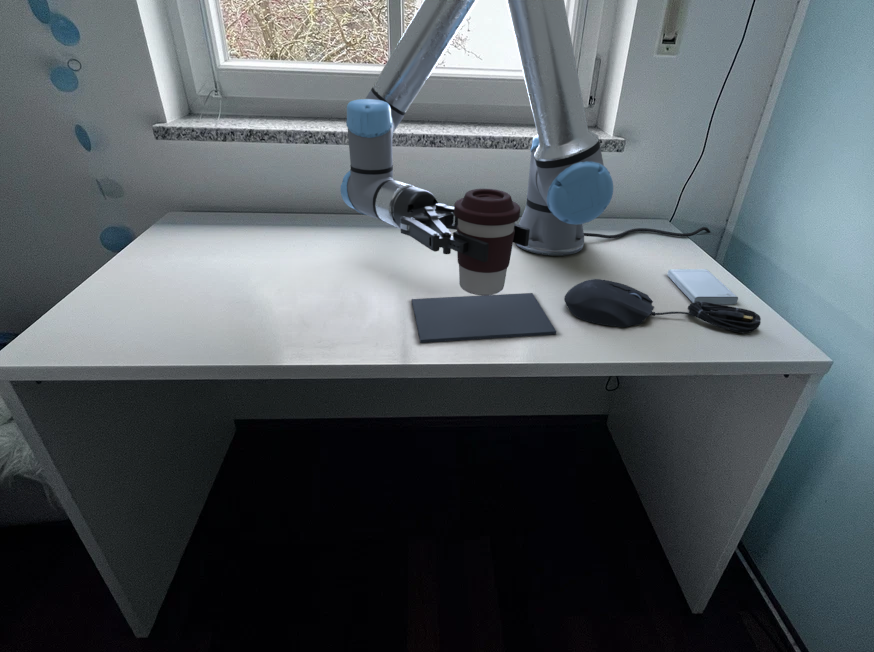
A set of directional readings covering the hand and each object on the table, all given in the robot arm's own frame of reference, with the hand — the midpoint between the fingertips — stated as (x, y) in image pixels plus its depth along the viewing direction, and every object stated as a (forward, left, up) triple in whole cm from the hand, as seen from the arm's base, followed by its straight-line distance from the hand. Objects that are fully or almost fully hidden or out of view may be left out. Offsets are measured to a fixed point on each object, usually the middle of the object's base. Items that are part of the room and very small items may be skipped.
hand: (507, 245), depth 82 cm
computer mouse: (-27, 0, -14) cm, 31 cm away
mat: (+3, -4, -14) cm, 15 cm away
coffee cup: (+3, -4, -9) cm, 10 cm away
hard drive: (-41, -10, -14) cm, 45 cm away
